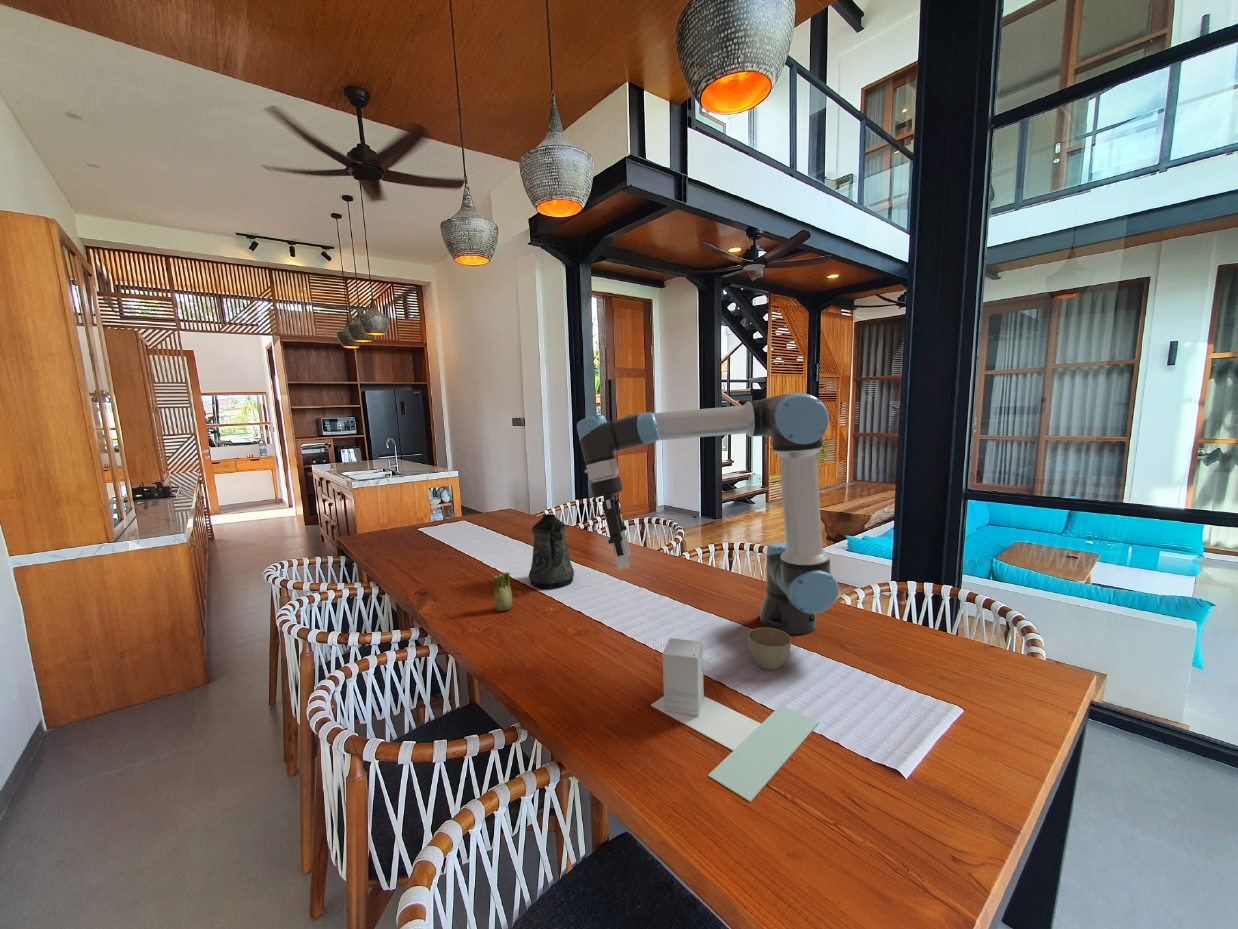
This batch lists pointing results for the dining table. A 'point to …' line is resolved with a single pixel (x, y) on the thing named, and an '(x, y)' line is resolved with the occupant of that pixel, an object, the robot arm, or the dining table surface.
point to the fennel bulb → (503, 592)
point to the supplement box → (683, 676)
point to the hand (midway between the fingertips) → (624, 562)
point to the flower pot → (769, 647)
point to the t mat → (747, 742)
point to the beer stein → (550, 555)
